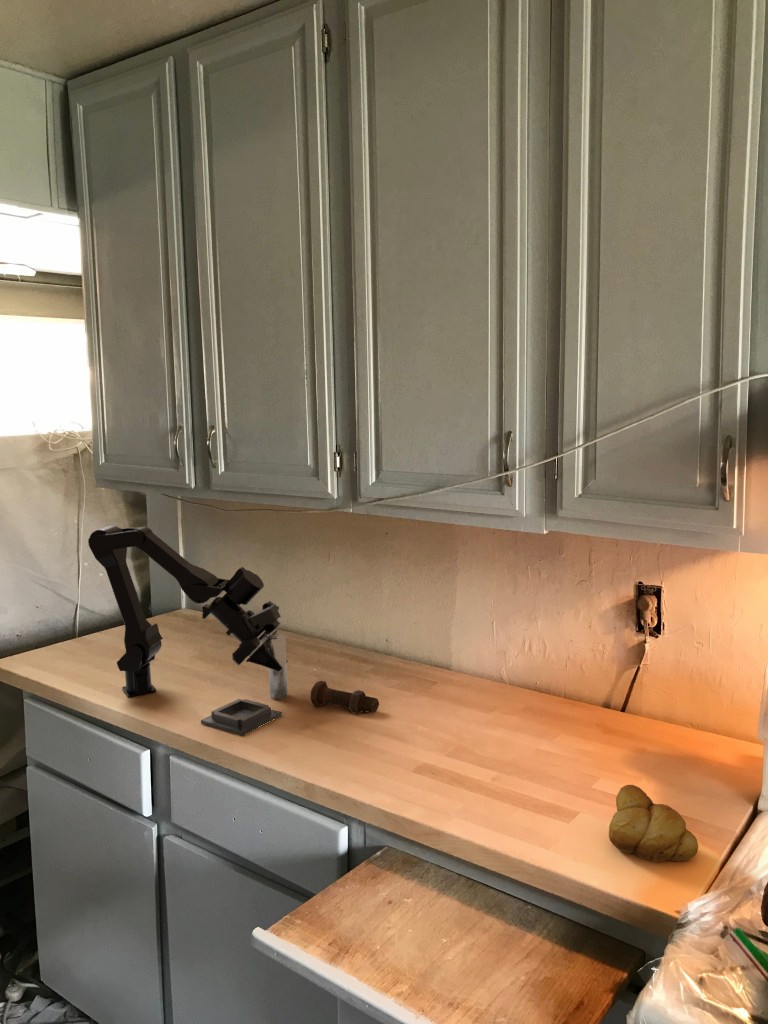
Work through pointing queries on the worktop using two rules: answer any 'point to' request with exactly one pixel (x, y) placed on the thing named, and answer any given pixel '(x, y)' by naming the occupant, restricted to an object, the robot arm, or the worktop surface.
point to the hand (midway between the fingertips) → (283, 666)
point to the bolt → (343, 698)
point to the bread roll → (649, 828)
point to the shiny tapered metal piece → (280, 677)
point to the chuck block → (241, 716)
